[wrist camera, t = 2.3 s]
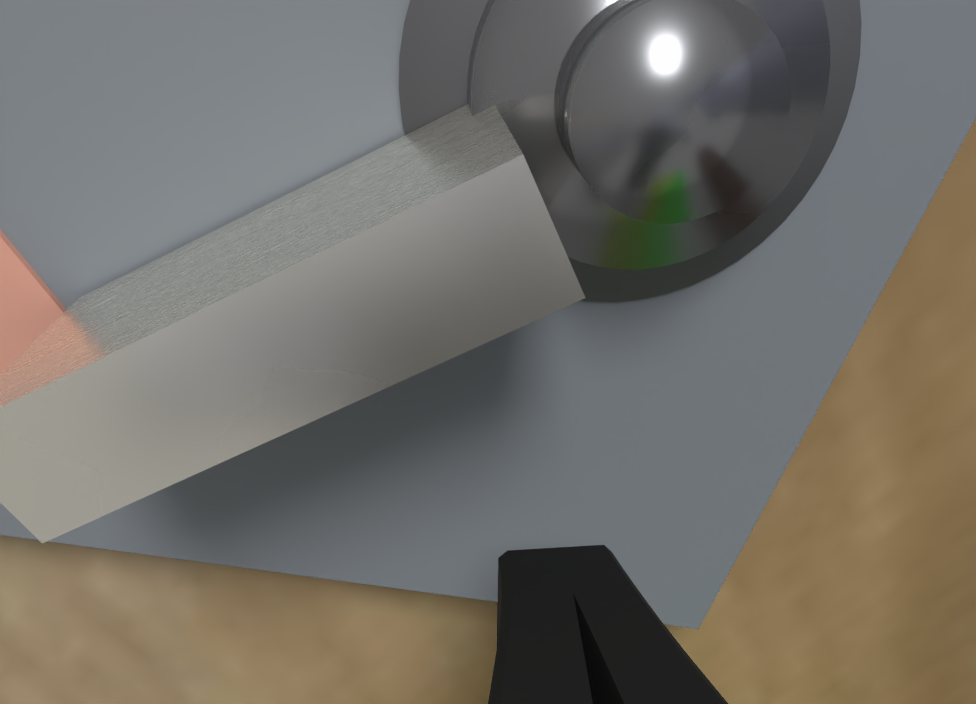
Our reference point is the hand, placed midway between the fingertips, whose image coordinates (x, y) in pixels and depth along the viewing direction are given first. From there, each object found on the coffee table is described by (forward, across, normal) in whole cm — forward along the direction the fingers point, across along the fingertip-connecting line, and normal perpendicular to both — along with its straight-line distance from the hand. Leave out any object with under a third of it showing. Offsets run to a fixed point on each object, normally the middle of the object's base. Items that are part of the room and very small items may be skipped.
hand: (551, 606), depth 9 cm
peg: (+2, +2, -5) cm, 5 cm away
